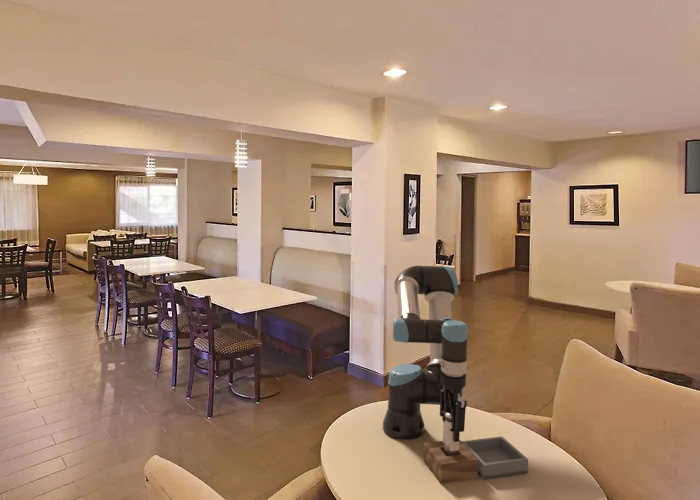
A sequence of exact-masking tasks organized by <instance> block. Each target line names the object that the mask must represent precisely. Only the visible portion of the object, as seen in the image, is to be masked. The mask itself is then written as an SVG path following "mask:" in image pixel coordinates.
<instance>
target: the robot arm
mask: <svg viewBox="0 0 700 500" xmlns="http://www.w3.org/2000/svg"><path fill="white" fill-rule="evenodd" d="M458 284H459V282H458V277H457V273H456V270H455V269H454V268H453V267H452V266H445V265H434V266H433V265H413V266H410V267H407V268H405V269H404V270H402V271H401V272H400V273H399V274H398V275H397V276H396V279H395V281H394V293H395V294H396V296H397V298H396V299H397V318H394V319H393V320H392V340H393V341H394V342H398V343H405V344H407V343H415V344H417V343H418V344H419V343H420V344H421V343H422V344H424V343H425V344H429V356H430V357H429V358H430V359H429V360H430V361H429V363H428V364H427V365H426V367H425V368H426V370H423V369H422V367H421V366H420V365H418V364H413V363H405V364H398V365H396V366H394V367H392V368H391V370H390V371H389V374H388V381H387V384H388V395H387V397H388V398H387V400H388V401H387V402H388V403H387V409H386V412H385V415H384V418H383V421H382V431H383V430H384V431H383V432H384V433H385V434H386V435H387V436H389V437H390V438H394V439H398V440H402V441H403V440H406V441H407V440H408V441H409V440H410V441H411V440H416V439H419V438H421V437H422V436H423V435H424V434H425V423H424V420H423V419H424V418H423V415H422V411H421V405H436V406H437V405H439V416H440V417H442V421H443V424H442V425H443V426H442V427H443V430H442V441H443V443H444V432H445V412H446V411H451V420H452V429H450V451H457V450H459V440H460V433H461V432H463V433H464V432H465V425H466V424H465V423H466V421H465V420H466V408H467V404H468V401H467V400H464V399H463V394H464V389H465V387H466V384H467V374H466V373H467V366H468V365H467V363H468V362H467V361H468V360H467V359H468V357H467V355H468V338H469V330H468V329H469V328H468V324H467V323H466V322H464V321H461V320H455V319H454V318H452V301H453V300H455V296H457V295H458V291H459V285H458ZM419 295H424V300H425V301H426V302H427V303H428V319H421V313H420V312H421V311H420V306H419V299H418V297H419Z"/></svg>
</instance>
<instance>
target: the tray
mask: <svg viewBox="0 0 700 500" xmlns="http://www.w3.org/2000/svg"><path fill="white" fill-rule="evenodd" d="M460 441H461V442H462V443H463V444H464V445H465V446H466V447H467V448H468V449H469V450H470V451H471V452H472V453H473V454H474V456H475V457H476V458H477V459H478V475H479V476H480V477H481V479H482V480H491V479H492V480H493V479H497V478H499V479H500V478H505V477H510V476H511V477H512V476H518V475H519V476H520V475H525V474H528V473H529V472H528V470H529V458H527V456H525V455H524V453H522V452H521V451H520V450H518V448H516V447H515V446H514V445H512V443H510V442H509V441H508V440H507V439H506V438H505V437H503V436H502V435H501V436H495V437H487V438H479V439H470V440H463V441H462V440H460Z"/></svg>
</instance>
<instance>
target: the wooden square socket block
mask: <svg viewBox="0 0 700 500" xmlns="http://www.w3.org/2000/svg"><path fill="white" fill-rule="evenodd" d="M461 441H462V440H460V439H459V450H457V455H454V456H446V455H445V454H444V443H443V440H440V441H431V442H426V443H425V442H424V446H423V447H424V450H423V451H424V453H423V461H424V463H425V464H426V466H427V468H428V469H429V470H430V472H431V473H432V475H434V477H435V479H436V480H437V481H438V482H439V483H440V485H443V484H450V483H455V482H462V481H470V480H475V479H478V475H479V474H478V459H477V458H476V457H475V456H474V454H473V453H472V452H471V451H470V450H469V449H468V448H467V447H466V446H465V445H464V444H463V443H462V442H461Z"/></svg>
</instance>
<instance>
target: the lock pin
mask: <svg viewBox="0 0 700 500" xmlns="http://www.w3.org/2000/svg"><path fill="white" fill-rule="evenodd" d="M450 429H452V420H451V411H446V412H445V432H444V454H445V455H446V456H454V455H457V451H450Z"/></svg>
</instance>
